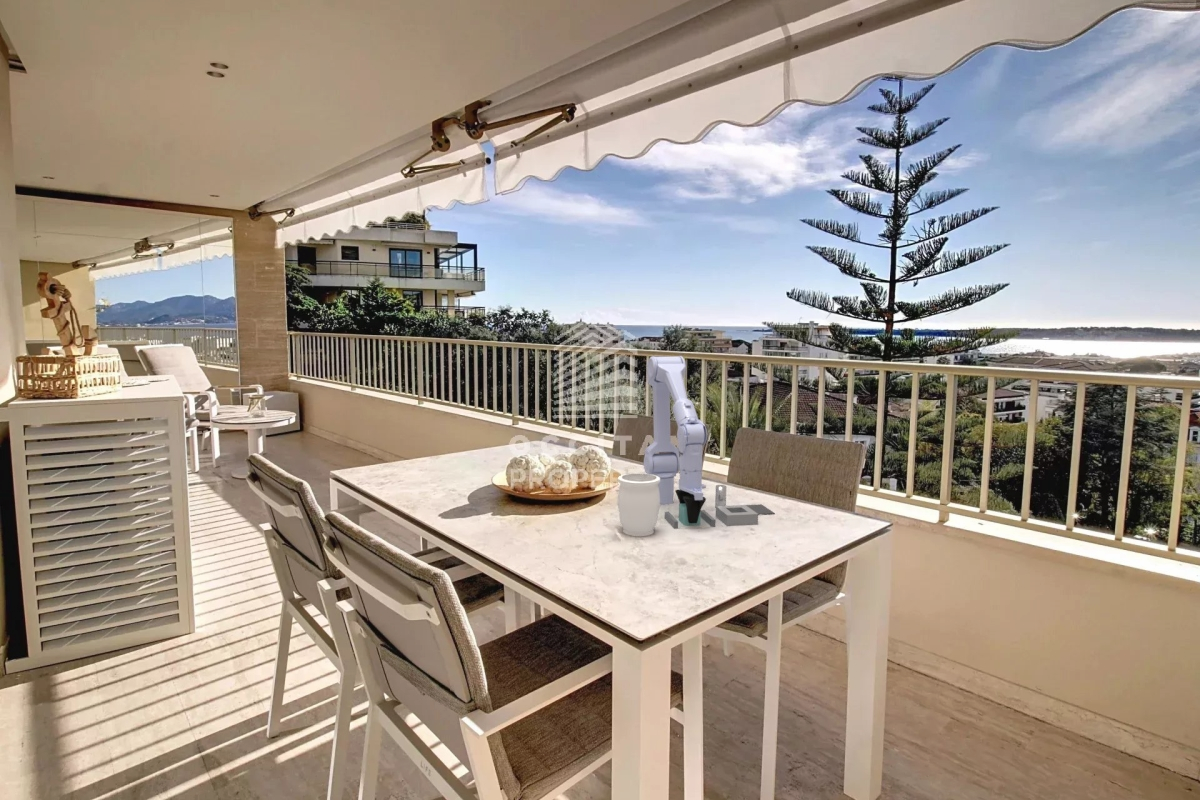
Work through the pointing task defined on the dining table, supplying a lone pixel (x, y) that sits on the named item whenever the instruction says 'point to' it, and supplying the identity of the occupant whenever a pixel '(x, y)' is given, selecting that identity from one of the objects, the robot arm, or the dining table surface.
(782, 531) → the dining table surface
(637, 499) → the jar
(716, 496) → the rod
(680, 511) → the block
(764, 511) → the pad
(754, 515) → the grey blocks
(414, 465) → the dining table surface
